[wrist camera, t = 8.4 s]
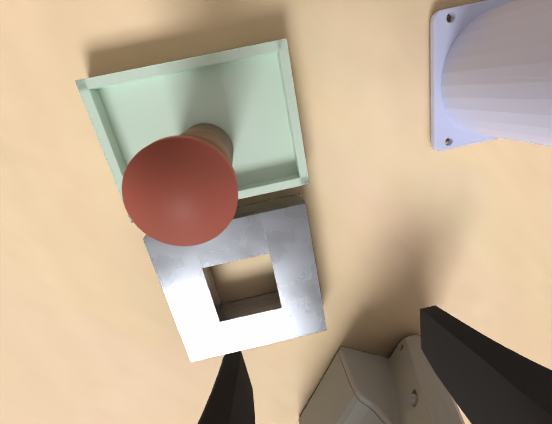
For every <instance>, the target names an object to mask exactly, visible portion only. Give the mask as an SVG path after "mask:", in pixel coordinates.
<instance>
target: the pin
mask: <svg viewBox="0 0 552 424" xmlns="http://www.w3.org/2000/svg"><path fill="white" fill-rule="evenodd" d="M232 163H233V144H232V141H231V139H230V137H229V136H228V134H227V133H226V132H225V131H224V130H223V129H221V128H220V127H218V126H216V125H214V124H210V123H200V124H196V125H193V126H192V127H190V128H188V129H187V130H186V131H184V132H183V133H181V134H180V135H176V136H169V137H165V138H162V139H159V140H157V141H155V142H153V143H151V144H150V145H148V146H146V147H145V148H143V149H142V150H140V151H139V152H138V153H137V154H136V155H135V156H134V157H133V158H132V159H131V161H130V162H129V164H128V166H127V168H126V170H125V172H124V176H123V180H122V197H123V202H124V205H125V208H126V210H127V212H128V214H129V216H130V218H131V219H132V221H133V222H134V223H135V224H136V225H137V227H139V228H140V229H141V230H142V231H143V232H144V233H146V234H147V235H148V236H150V237H152V238H153V239H155V240H157V241H160V242H162V243H165V244H169V245H174V246H194V245H199V244H202V243H205V242H208V241H210V240H212V239H214V238H215V237H217V236H218V235H219V234H221V233H222V232H223V231H224V230H225V229H226V228H227V227H228V225H229V224H230V222H231V221H232V219H233V217H234V215H235V212H236V209H237V204H238V182H237V177H236V174H235V171H234V169H233V167H232Z"/></svg>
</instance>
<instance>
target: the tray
mask: <svg viewBox="0 0 552 424" xmlns="http://www.w3.org/2000/svg"><path fill="white" fill-rule="evenodd" d="M75 82H76V85H77V87H78V90H79V92H80V95H81V97H82V100H83V102H84V105H85V107H86V110H87V112H88V115H89V117H90V120H91V122H92V125H93V127H94V130H95V132H96V135H97V137H98V140H99V142H100V145H101V147H102V150H103V152H104V155H105V157H106V160H107V162H108V165H109V167H110V170H111V172H112V175H113V177H114V180H115V182H116V185H117V187H118V190H119V192H120V195H121V197H122V180H123V176H124V172H125V170H126V168H127V166H128V164H129V162H130V161H131V159H132V158H133V157H134V156H135V155H136V154H137V153H138V152H139V151H140V150H142V149H143V148H145V147H146V146H148V145H150V144H151V143H153V142H155V141H157V140H159V139H162V138H165V137H169V136H176V135H180V134H181V133H183V132H184V131H186V130H187V129H188V128H190V127H192V126H193V125H196V124H200V123H210V124H214V125H216V126H218V127H220V128H221V129H223V130H224V131H225V132H226V133H227V134H228V136H229V137H230V139H231V141H232V144H233V163H232V167H233V169H234V171H235V174H236V177H237V182H238V199H242V198H247V197H252V196H256V195H261V194H265V193H270V192H275V191H279V190H284V189H288V188H293V187H298V186H302V185H307V184H309V178H308V172H307V165H306V159H305V152H304V146H303V140H302V133H301V127H300V121H299V114H298V108H297V102H296V95H295V89H294V83H293V76H292V70H291V63H290V57H289V51H288V44H287V38H285V39H280V40H275V41H270V42H265V43H260V44H255V45H250V46H245V47H240V48H235V49H230V50H225V51H220V52H215V53H210V54H205V55H200V56H195V57H190V58H185V59H180V60H176V61H171V62H166V63H161V64H156V65H151V66H146V67H141V68H136V69H131V70H126V71H121V72H116V73H111V74H106V75H101V76H96V77H91V78H86V79H81V80H76V81H75ZM122 200H123V197H122ZM123 203H124V202H123ZM127 213H128V212H127ZM128 215H129V214H128ZM129 218H130V216H129ZM130 220H131V223H132V222H133V221H132V219H131V218H130Z"/></svg>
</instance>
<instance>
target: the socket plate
mask: <svg viewBox="0 0 552 424" xmlns="http://www.w3.org/2000/svg"><path fill="white" fill-rule="evenodd" d="M143 240H144V243H145V245H146V248H147V250H148V253H149V256H150V258H151V261H152V263H153V266H154V268H155V271H156V273H157V276H158V278H159V281H160V284H161V286H162V289H163V291H164V294H165V296H166V299H167V301H168V304H169V307H170V309H171V312H172V314H173V317H174V319H175V322H176V324H177V327H178V330H179V332H180V335H181V337H182V340H183V342H184V345H185V347H186V350H187V353H188V355H189V358H190V360H191V362H192V361H197V360H201V359H205V358H209V357H214V356H218V355H222V354H227V353H231V352H235V351H239V350H244V349H248V348H252V347H257V346H261V345H265V344H270V343H274V342H278V341H282V340H287V339H291V338H295V337H300V336H304V335H308V334H312V333H317V332H321V331H325V330H327V329H326V323H325V317H324V311H323V305H322V299H321V293H320V287H319V281H318V275H317V269H316V263H315V257H314V251H313V245H312V239H311V233H310V227H309V221H308V215H307V209H306V203H305V202H304V200H303V198H302V197H301V195H300V194H296V195H291V196H287V197H282V198H277V199H273V200H268V201H264V202H259V203H254V204H250V205H245V206H241V207H237V209H236V212H235V215H234V217H233V219H232V221H231V222H230V224H229V225H228V227H227V228H226V229H225V230H224V231H223V232H222V233H221V234H219V235H218V236H217V237H215V238H214V239H212V240H210V241H208V242H205V243H202V244H199V245H194V246H174V245H169V244H165V243H162V242H160V241H157V240H155V239H153V238H152V237H150V236H148V235H147V234H146V235H145V237H144V238H143ZM268 253H270V257H271V261H272V266H273V270H274V274H275V279H276V283H277V288H278V291H277V292H272V293H268V294H264V295H259V296H255V297H250V298H246V299H242V300H237V301H233V302H228V303H224V304H221V302H220V299H219V296H218V292H217V289H216V286H215V283H214V280H213V276H212V273H211V270H210V266H214V265H219V264H223V263H228V262H232V261H237V260H241V259H245V258H250V257H254V256H259V255H263V254H268Z"/></svg>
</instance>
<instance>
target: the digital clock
mask: <svg viewBox="0 0 552 424" xmlns="http://www.w3.org/2000/svg"><path fill="white" fill-rule="evenodd" d="M299 424H465V423H464V421H463V418H462V416H461V414H460V411H459V409H458V406H457V404H456V402H455V400H454V399H453V397H452V396H451V395H450V393H449V392H448V391H447V389H446V388H445V386H444V385H443V384H442V382H441V381H440V379H439V378H438V377H437V375H436V374H435V372H434V370H433V369H432V367H431V365H430V363H429V362H428V360H427V358H426V356H425V355H424V353H423V351H422V349H421V336H420V335H411V336H407V337H405V338H403V339H402V340H401V342H400V343H399V344H398V346H397V347H396V349H395V350H394V352H393V353H392V355H391V356H390V358H386V357H382V356H378V355H374V354H370V353H366V352H363V351H359V350H355V349H351V348H347V347H340V349H339V351H338V353H337V354H336V356H335V358H334V359H333V361H332V363H331V365H330V366H329V368H328V370H327V371H326V373H325V375H324V377H323V378H322V380H321V382H320V383H319V385H318V387H317V389H316V390H315V392H314V394H313V395H312V397H311V399H310V401H309V402H308V404H307V406H306V408H305V409H304V411H303V413H302V414H301V416H300V418H299Z"/></svg>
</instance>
